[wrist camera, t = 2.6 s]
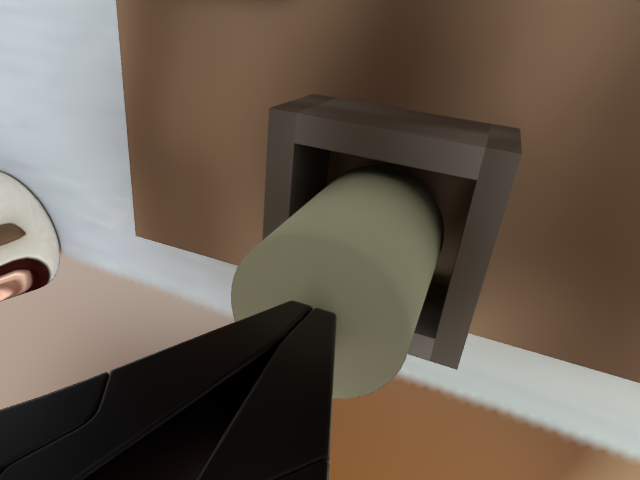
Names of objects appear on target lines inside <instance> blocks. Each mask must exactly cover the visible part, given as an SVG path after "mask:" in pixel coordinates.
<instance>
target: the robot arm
mask: <svg viewBox="0 0 640 480" xmlns="http://www.w3.org/2000/svg"><path fill="white" fill-rule="evenodd" d="M336 323H337V316H336V314H335V313H333V312H330V311H327V310H323V309H320V308H314V309H313V307H312V306H310V305H307V304H304V303H300V302H297V301H293V300H292V301H288V302H285V303H283V304H280V305H278V306H275V307H272V308H270V309H267V310H265V311H262V312H260V313H257V314H254V315H252V316H249V317H247V318H244V319H242V320H239V321H236V322H234V323H231V324H229V325H226V326H224V327H221V328H218V329H216V330H213V331H211V332H208V333H206V334H203V335H200V336H198V337H195V338H193V339H190V340H188V341H185V342H182V343H180V344H177V345H175V346H172V347H170V348H167V349H165V350H162V351H159V352H157V353H154V354H152V355H149V356H146V357H144V358H141V359H139V360H136V361H134V362H131V363H128V364H126V365H123V366H121V367H118V368H115V369H113V370H111V371H110V374H108V373H107V372H105V373H102V374H100V375H97V376H94V377H92V378H89V379H87V380H84V381H82V382H79V383H76V384H73V385H71V386H68V387H65V388H63V389H60V390H57V391H54V392H52V393H49V394H46V395H43V396H41V397H38V398H35V399H32V400H29V401H26V402H23V403H20V404H17V405H13V406H10V407H7V408H4V409H1V410H0V480H329V458H330V438H331V419H332V400H333V381H334V361H335V342H336Z"/></svg>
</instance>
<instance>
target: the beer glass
mask: <svg viewBox="0 0 640 480" xmlns="http://www.w3.org/2000/svg"><path fill="white" fill-rule="evenodd" d="M59 262H60V248H59V242H58V238H57V235H56V232H55V229H54V227H53V224H52V222H51V220H50V218H49V216H48V215H47V213H46V211H45V210H44V208H43V207H42V205H41V204H40V202H39V201H38V200H37V199H36V198H35V196H34V195H33V194H32V193H31V192H30V191H29V190H28V189H27V188H26V187H25V186H23V185H22V184H21V183H20V182H18V181H17V180H15V179H14V178H12V177H10V176H9V175H7V174H5V173H2V172H0V301H3V300H6V299H9V298H12V297H15V296H18V295H21V294H24V293H27V292H30V291H33V290H36V289H39V288H41V287H43V286H45V285H47V284H48V283H49V282H50V281H51V280H52V279H53V278H54V277H55V275H56V273H57V271H58V267H59Z"/></svg>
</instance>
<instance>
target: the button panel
mask: <svg viewBox="0 0 640 480" xmlns="http://www.w3.org/2000/svg"><path fill="white" fill-rule="evenodd" d="M116 5H117V17H118V29H119V41H120V53H121V65H122V77H123V89H124V101H125V113H126V124H127V136H128V148H129V160H130V172H131V184H132V196H133V208H134V220H135V232H136V236H138V237H142V238H145V239H149V240H152V241H156V242H159V243H162V244H166V245H169V246H173V247H176V248H180V249H183V250H186V251H190V252H193V253H197V254H200V255H204V256H207V257H210V258H214V259H217V260H221V261H224V262H227V263H231V264H234V265H238V266H239V265H240V263H241V261H242V260H243V258H244V257H245V256H246V255H247V254H248V253H249V251H251V250H252V249H253V248H254V247H255V246H257V245H258V244H259V243H260V242H261V241H263V240H264V239H265V238H266V237H267V236H268V235H270V234H271V233H272V232H273V231H274V230H276V229H277V228H278V227H279V226H280V225H282V224H283V223H284V222H285V221H286V220H287V219H289V218H290V217H291V216H292V215H293V214H295V213H296V212H297V211H298V210H299V209H300V208H302V207H303V206H304V205H305V204H306V203H308V202H309V201H310V200H311V199H312V198H314V197H315V196H316V195H317V194H318V193H319V192H321V191H322V190H323V189H324V188H325V187H327V186H328V185H329V184H330V183H331V182H332V181H334V180H335V179H336V178H337V177H339V176H340V175H342V174H343V173H345V172H347V171H349V170H352V169H354V168H358V167H361V166H369V165H380V166H387V167H391V168H395V169H398V170H400V171H403V172H405V173H407V174H409V175H410V176H412V177H414V178H415V179H416V180H418V181H419V182H420V183H421V184H422V185H423V186H424V187H426V188H427V190H428V191H429V192H430V193H431V195H432V196H433V197H434V199H435V201H436V203H437V204H438V207H439V209H440V211H441V215H442V218H443V224H444V240H443V245H442V248H441V252H440V255H439V258H438V261H437V264H436V267H435V270H434V273H433V276H432V279H431V282H430V285H429V288H428V291H427V294H426V297H425V300H424V303H423V307H422V310H421V313H420V316H419V319H418V322H417V325H416V328H415V331H414V334H413V337H412V340H411V343H410V346H409V349H408V352H407V354H409V355H412V356H416V357H419V358H422V359H425V360H428V361H432V362H435V363H438V364H441V365H444V366H447V367H451V368H454V369H457V368H458V365H459V361H460V358H461V355H462V351H463V348H464V345H465V341H466V338H467V335H468V333H471V334H474V335H477V336H481V337H484V338H488V339H491V340H495V341H498V342H501V343H505V344H508V345H512V346H515V347H518V348H522V349H525V350H529V351H532V352H536V353H539V354H542V355H546V356H549V357H553V358H556V359H560V360H563V361H566V362H570V363H573V364H577V365H580V366H584V367H587V368H590V369H594V370H597V371H601V372H604V373H608V374H611V375H614V376H618V377H621V378H625V379H628V380H631V381H635V382H638V383H640V0H116Z"/></svg>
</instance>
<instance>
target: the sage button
mask: <svg viewBox="0 0 640 480" xmlns="http://www.w3.org/2000/svg"><path fill="white" fill-rule="evenodd" d="M443 240H444V224H443V218H442V215H441V211H440V209H439V207H438V204H437V203H436V201H435V199H434V197H433V196H432V195H431V193H430V192H429V191H428V190H427V188H426V187H424V186H423V185H422V184H421V183H420V182H419V181H418V180H416V179H415V178H414V177H412V176H410V175H409V174H407V173H405V172H403V171H400V170H398V169H395V168H391V167H387V166H380V165H369V166H361V167H358V168H354V169H352V170H349V171H347V172H345V173H343V174H342V175H340V176H339V177H337V178H336V179H335V180H334V181H332V182H331V183H330V184H329V185H328V186H327V187H325V188H324V189H323V190H322V191H321V192H319V193H318V194H317V195H316V196H315V197H314V198H312V199H311V200H310V201H309V202H308V203H306V204H305V205H304V206H303V207H302V208H300V209H299V210H298V211H297V212H296V213H295V214H293V215H292V216H291V217H290V218H289V219H287V220H286V221H285V222H284V223H283V224H282V225H280V226H279V227H278V228H277V229H276V230H274V231H273V232H272V233H271V234H270V235H268V236H267V237H266V238H265V239H264V240H263V241H261V242H260V243H259V244H258V245H257V246H255V247H254V248H253V249H252V250H251V251H249V253H248V254H247V255H246V256H245V257H244V258H243V260H242V261H241V263H240V265H239V266H238V268H237V270H236V273H235V275H234V279H233V283H232V291H231V303H232V310H233V315H234V319H235V322H236V321H239V320H242V319H244V318H247V317H249V316H252V315H254V314H257V313H260V312H262V311H265V310H267V309H270V308H272V307H275V306H278V305H280V304H283V303H285V302H288V301H292V300H293V301H297V302H300V303H304V304H307V305H310V306H312V307H313V309H314V308H320V309H323V310H327V311H330V312H333V313H335V314H336V316H337V323H336V342H335V361H334V381H333V398H338V399H339V398H353V397H360V396H363V395H367V394H370V393H372V392H373V391H376V390H378V389H380V388H381V387H383V386H384V385H386V384H387V383H388V382H389V381H391V380H392V379H393V378H394V377H395V375H396V374H397V373H398V372H399V370H400V369H401V367H402V365H403V363H404V361H405V358H406V355H407V352H408V349H409V346H410V343H411V340H412V337H413V334H414V331H415V328H416V325H417V322H418V319H419V316H420V313H421V310H422V307H423V303H424V300H425V297H426V294H427V291H428V288H429V285H430V282H431V279H432V276H433V273H434V270H435V267H436V264H437V261H438V258H439V255H440V252H441V248H442V245H443Z"/></svg>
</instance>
